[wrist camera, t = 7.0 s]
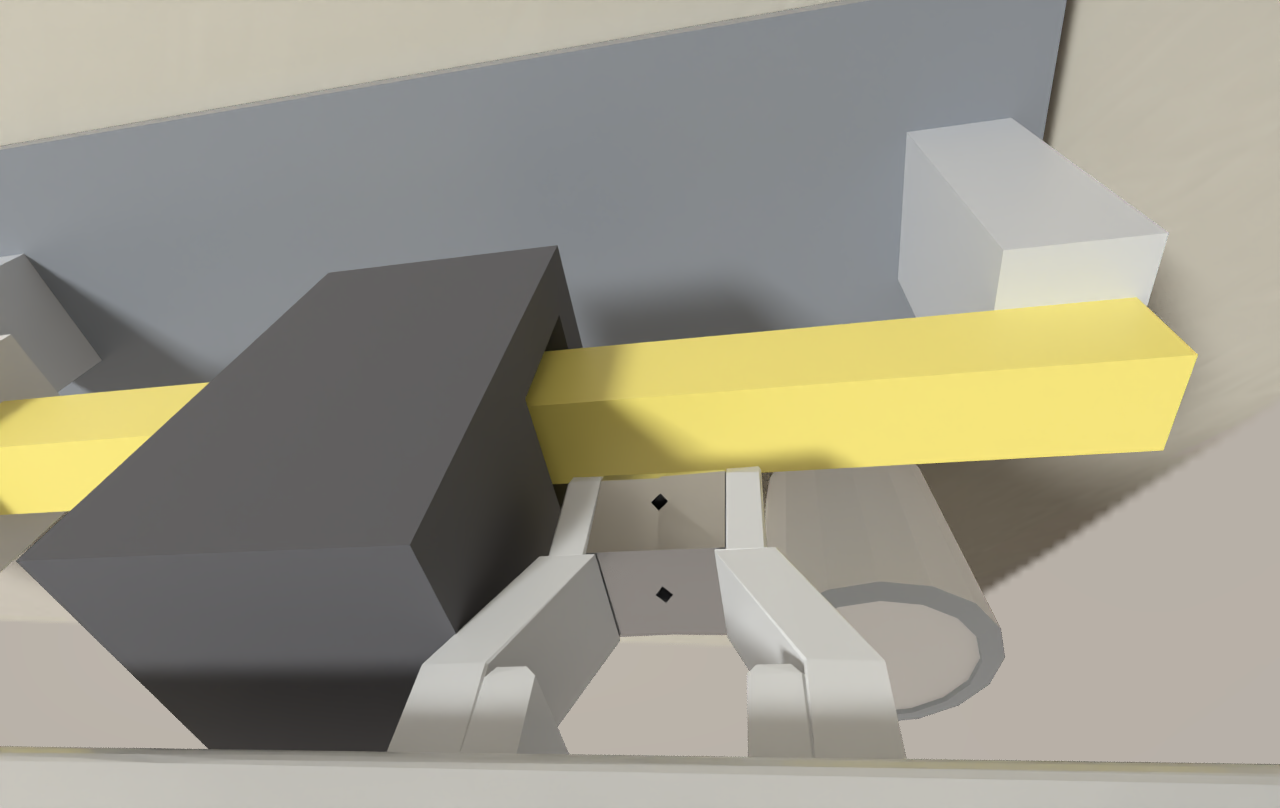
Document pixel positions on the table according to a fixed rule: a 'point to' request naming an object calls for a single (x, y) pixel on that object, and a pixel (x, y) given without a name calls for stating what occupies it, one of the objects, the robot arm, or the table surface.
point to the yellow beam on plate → (624, 250)
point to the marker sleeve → (327, 505)
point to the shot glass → (890, 577)
